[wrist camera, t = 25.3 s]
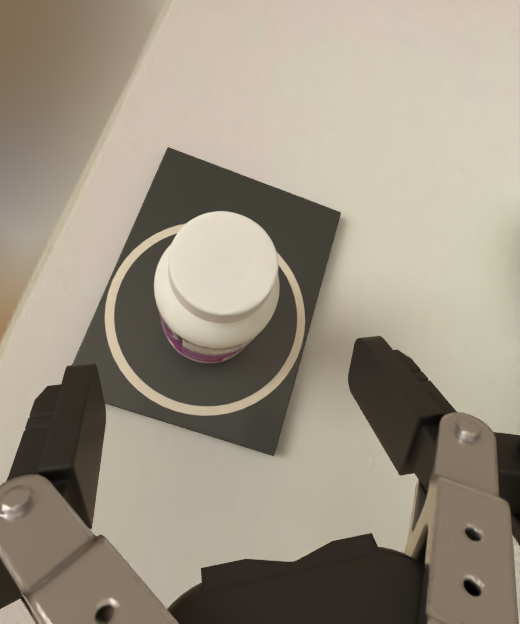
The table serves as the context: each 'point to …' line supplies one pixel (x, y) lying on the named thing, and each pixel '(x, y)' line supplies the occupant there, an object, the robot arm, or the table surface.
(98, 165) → the table surface
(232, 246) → the pill bottle
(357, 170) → the table surface
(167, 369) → the slate board
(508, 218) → the table surface
